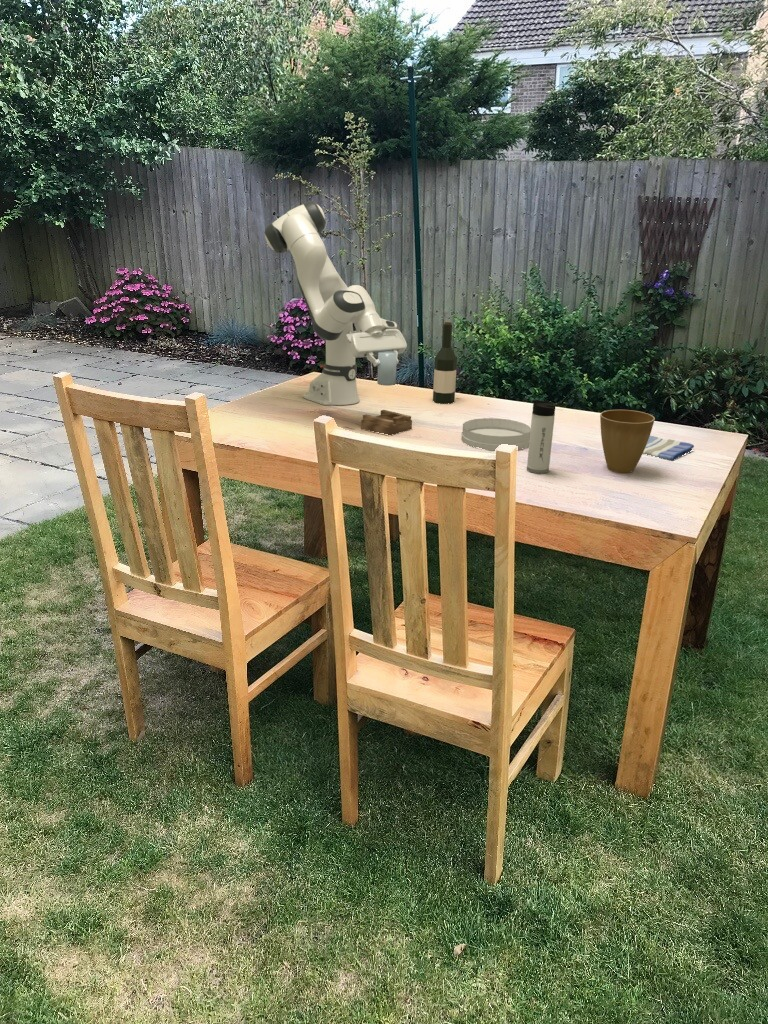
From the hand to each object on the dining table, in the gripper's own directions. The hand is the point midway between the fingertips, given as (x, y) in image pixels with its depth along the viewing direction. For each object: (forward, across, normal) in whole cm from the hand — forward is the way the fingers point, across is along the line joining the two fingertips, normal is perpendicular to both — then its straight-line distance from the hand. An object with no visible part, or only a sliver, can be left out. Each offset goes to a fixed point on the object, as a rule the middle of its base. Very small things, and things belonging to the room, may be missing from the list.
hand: (386, 364), depth 254 cm
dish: (+36, +23, -5) cm, 43 cm away
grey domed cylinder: (+4, 0, +4) cm, 6 cm away
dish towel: (+57, +62, -26) cm, 88 cm away
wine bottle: (0, +42, +31) cm, 52 cm away
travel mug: (+56, +14, -26) cm, 63 cm away
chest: (+15, 0, +15) cm, 22 cm away
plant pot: (+64, +36, -34) cm, 81 cm away
